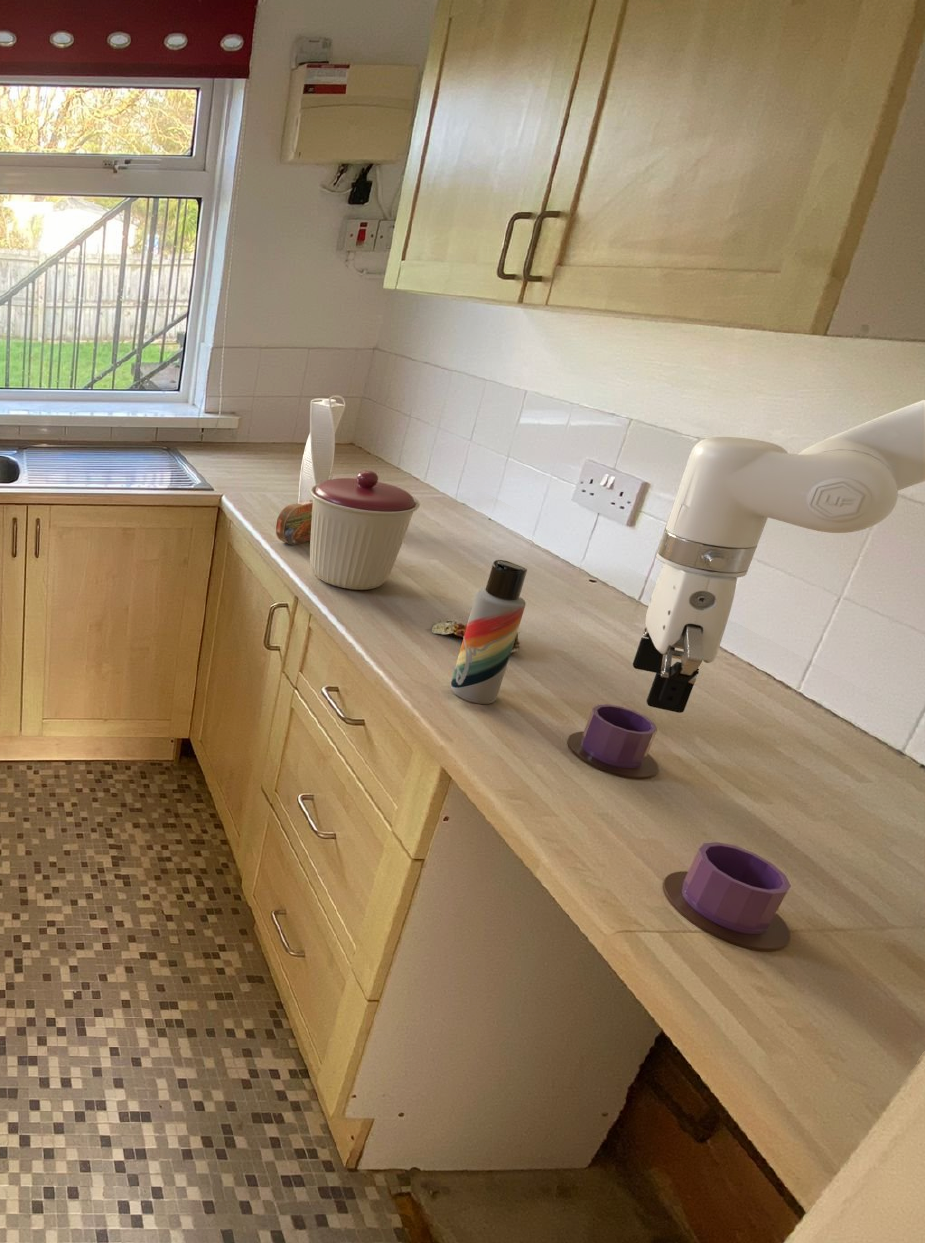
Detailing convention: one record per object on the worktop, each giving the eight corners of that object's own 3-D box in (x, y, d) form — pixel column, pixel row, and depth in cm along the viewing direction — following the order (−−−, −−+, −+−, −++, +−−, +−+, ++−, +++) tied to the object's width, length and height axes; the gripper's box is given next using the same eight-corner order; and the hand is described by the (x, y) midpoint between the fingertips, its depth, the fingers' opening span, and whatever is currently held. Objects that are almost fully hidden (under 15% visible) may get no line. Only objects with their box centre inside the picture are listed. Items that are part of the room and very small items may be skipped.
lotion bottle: (440, 686, 108) (475, 557, 101) (470, 680, 110) (507, 552, 103) (474, 707, 103) (514, 573, 96) (505, 701, 105) (547, 569, 98)
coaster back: (650, 748, 96) (651, 745, 96) (663, 789, 89) (665, 786, 88) (564, 726, 100) (564, 723, 100) (570, 763, 93) (571, 760, 93)
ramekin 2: (756, 898, 73) (777, 858, 71) (777, 946, 68) (800, 904, 66) (675, 872, 76) (692, 833, 74) (688, 916, 71) (708, 875, 69)
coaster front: (771, 898, 74) (773, 895, 74) (803, 968, 66) (805, 965, 66) (654, 861, 78) (656, 858, 78) (672, 923, 71) (673, 920, 71)
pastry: (435, 622, 127) (440, 602, 126) (519, 644, 121) (526, 623, 119) (427, 637, 122) (433, 617, 121) (515, 661, 115) (522, 640, 114)
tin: (282, 548, 157) (288, 509, 154) (270, 543, 160) (276, 505, 157) (329, 536, 164) (336, 499, 161) (317, 531, 167) (324, 495, 164)
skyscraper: (330, 519, 175) (353, 397, 164) (293, 515, 177) (314, 394, 166) (326, 507, 182) (348, 390, 172) (291, 504, 184) (310, 388, 174)
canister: (351, 556, 154) (372, 455, 146) (422, 593, 138) (450, 481, 130) (276, 565, 149) (293, 461, 141) (340, 605, 133) (364, 489, 125)
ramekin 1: (638, 747, 95) (651, 713, 93) (647, 775, 90) (661, 740, 88) (578, 731, 98) (590, 698, 96) (583, 758, 93) (596, 723, 91)
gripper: (775, 587, 74) (716, 735, 80) (729, 535, 88) (681, 665, 94) (676, 571, 78) (627, 715, 84) (647, 524, 91) (606, 650, 98)
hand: (655, 688), depth 89 cm, fingers open, 9 cm apart
